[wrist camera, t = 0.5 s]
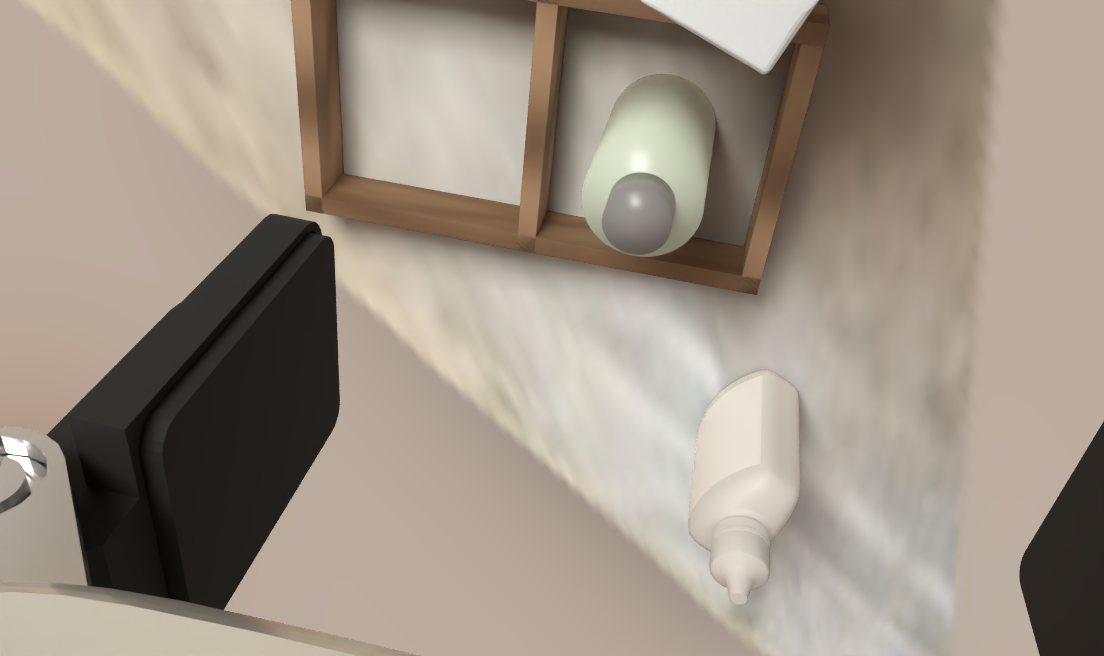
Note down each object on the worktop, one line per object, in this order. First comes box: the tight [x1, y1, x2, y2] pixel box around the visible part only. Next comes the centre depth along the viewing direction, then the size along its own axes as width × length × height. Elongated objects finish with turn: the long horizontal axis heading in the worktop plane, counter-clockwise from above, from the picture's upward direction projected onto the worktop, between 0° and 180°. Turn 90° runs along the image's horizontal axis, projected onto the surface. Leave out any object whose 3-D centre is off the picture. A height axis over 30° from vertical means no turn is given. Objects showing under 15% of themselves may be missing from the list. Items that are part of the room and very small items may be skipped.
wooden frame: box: [291, 0, 830, 295], centre depth 38 cm, size 12×20×2 cm, turn 84°
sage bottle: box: [581, 74, 716, 257], centre depth 35 cm, size 4×4×9 cm
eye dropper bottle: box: [688, 370, 800, 605], centre depth 41 cm, size 4×6×12 cm
